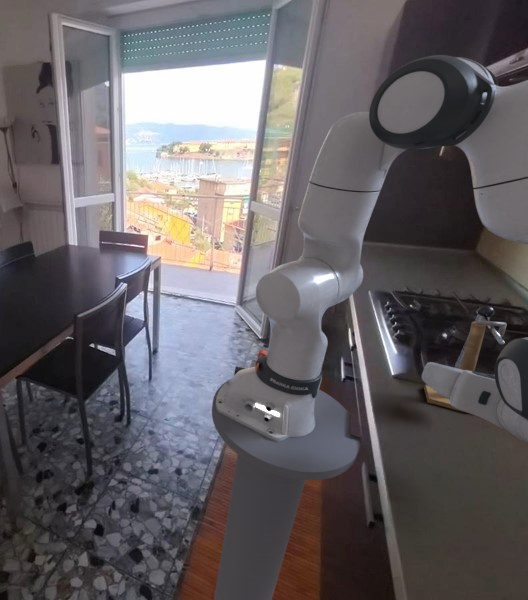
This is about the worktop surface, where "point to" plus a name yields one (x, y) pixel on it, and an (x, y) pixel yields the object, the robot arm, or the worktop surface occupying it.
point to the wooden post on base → (477, 342)
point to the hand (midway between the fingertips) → (469, 375)
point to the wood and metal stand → (440, 400)
